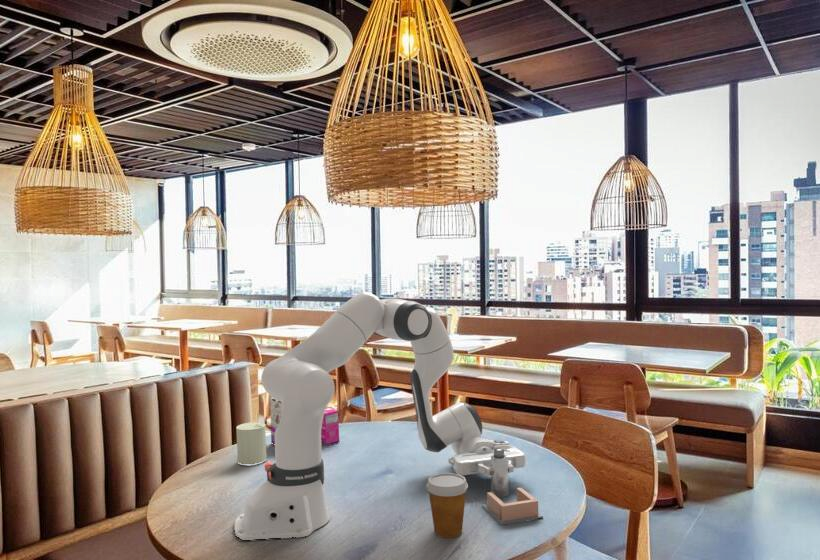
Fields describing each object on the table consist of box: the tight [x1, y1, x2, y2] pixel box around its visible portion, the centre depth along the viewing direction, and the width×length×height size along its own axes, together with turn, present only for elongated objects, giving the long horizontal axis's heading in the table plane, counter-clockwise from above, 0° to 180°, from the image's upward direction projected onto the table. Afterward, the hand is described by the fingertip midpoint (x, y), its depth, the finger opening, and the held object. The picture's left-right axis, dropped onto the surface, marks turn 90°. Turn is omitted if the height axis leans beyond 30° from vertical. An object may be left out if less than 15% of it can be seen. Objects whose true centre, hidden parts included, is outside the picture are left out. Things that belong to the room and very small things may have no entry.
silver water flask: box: [490, 448, 510, 499], centre depth 150 cm, size 4×4×12 cm
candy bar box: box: [269, 397, 282, 445], centre depth 197 cm, size 11×5×16 cm, turn 40°
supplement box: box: [321, 407, 340, 446], centre depth 199 cm, size 6×6×12 cm
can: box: [236, 421, 267, 464], centre depth 182 cm, size 9×9×12 cm
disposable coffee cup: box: [426, 472, 469, 539], centre depth 130 cm, size 10×10×12 cm
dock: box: [481, 487, 544, 526], centre depth 139 cm, size 11×11×4 cm
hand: (500, 471), depth 149 cm, fingers closed on silver water flask, 4 cm apart
